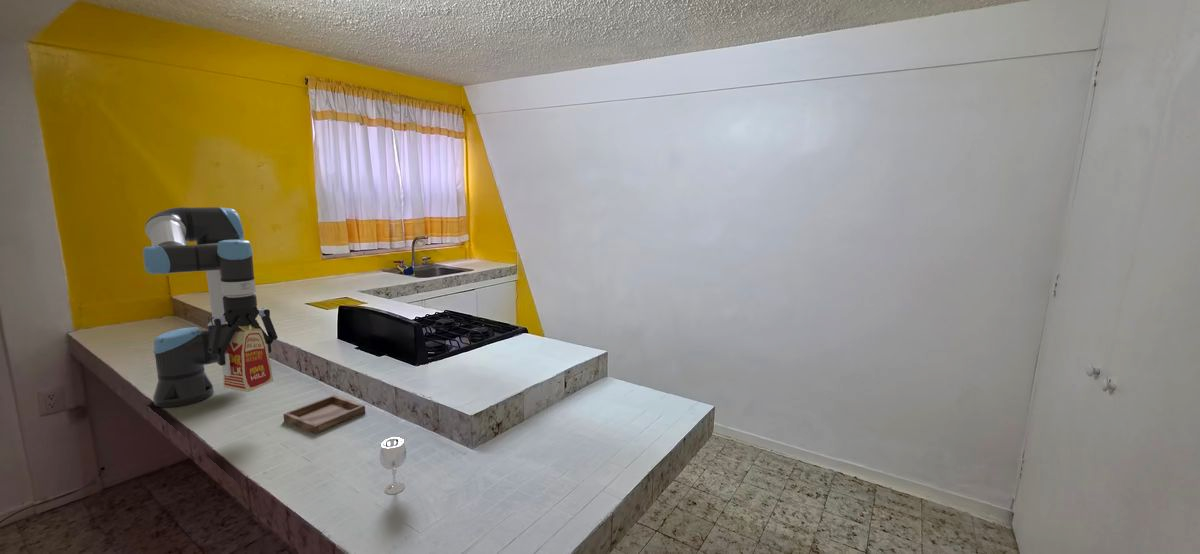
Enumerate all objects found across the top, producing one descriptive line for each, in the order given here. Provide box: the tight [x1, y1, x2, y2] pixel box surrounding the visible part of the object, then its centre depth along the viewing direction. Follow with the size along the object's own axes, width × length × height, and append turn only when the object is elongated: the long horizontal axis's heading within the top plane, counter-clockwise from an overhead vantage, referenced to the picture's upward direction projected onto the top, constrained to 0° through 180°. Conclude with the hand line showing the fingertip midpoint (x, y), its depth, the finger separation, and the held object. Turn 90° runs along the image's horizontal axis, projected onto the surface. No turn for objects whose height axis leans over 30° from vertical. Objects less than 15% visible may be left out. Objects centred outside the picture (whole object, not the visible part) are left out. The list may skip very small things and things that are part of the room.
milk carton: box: [222, 319, 274, 393], centre depth 132 cm, size 9×9×20 cm
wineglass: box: [379, 437, 407, 495], centre depth 109 cm, size 6×6×12 cm
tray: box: [282, 394, 366, 435], centre depth 144 cm, size 16×16×2 cm
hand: (246, 369), depth 133 cm, fingers closed on milk carton, 9 cm apart
